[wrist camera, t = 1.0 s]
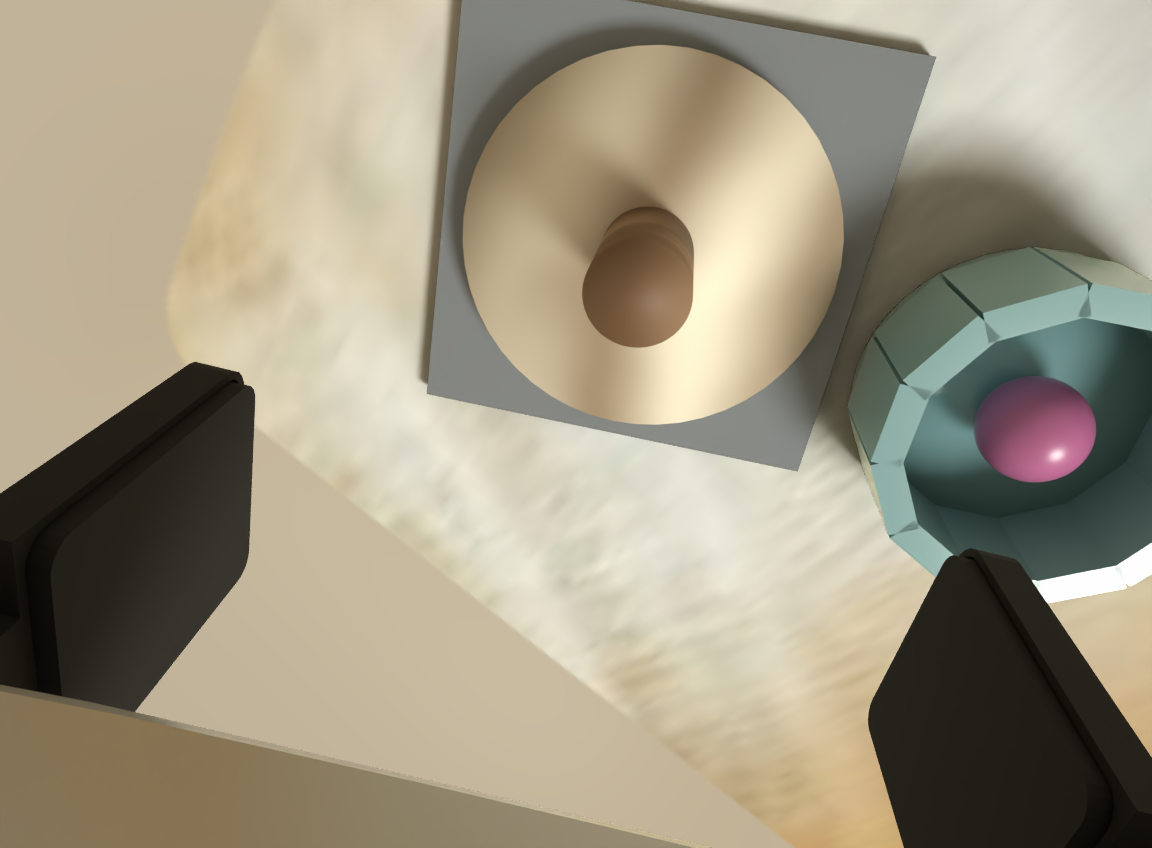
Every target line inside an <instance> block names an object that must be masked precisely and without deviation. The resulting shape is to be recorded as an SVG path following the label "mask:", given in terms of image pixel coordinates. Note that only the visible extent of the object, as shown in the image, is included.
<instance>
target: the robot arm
mask: <svg viewBox="0 0 1152 848" xmlns="http://www.w3.org/2000/svg"><path fill="white" fill-rule="evenodd" d="M254 415H255V393H254V389H253V388H252V387H251V386H247V385H244V381H243V378H242V375H241V374H240V373H239V372H235V371H231V370H227V369H223V368H219V367H215V366H210V365H206V364H202V363H198V362H193V363H191V364H189V365H187V366H186V367H184V368H183V369H181V370H180V371H178V372H177V373H175V374H174V375H173V376H171V377H170V378H168V379H167V380H165V381H164V382H163V383H161V384H160V385H158V386H157V387H155V388H154V389H152V390H151V391H149V392H148V393H146V394H145V395H143V396H142V397H140V398H139V399H138V400H136V401H135V402H133V403H132V404H130V405H129V406H127V407H126V408H125V409H123V410H122V411H120V412H119V413H117V414H116V415H114V416H113V417H111V418H110V419H108V420H107V421H105V422H104V423H103V424H101V425H100V426H98V427H97V428H95V429H94V430H92V431H91V432H89V433H88V434H86V435H85V436H84V437H82V438H81V439H79V440H78V441H76V442H75V443H74V444H72V445H70V446H69V447H67V448H66V449H65V450H63V451H62V452H60V453H59V454H57V455H56V456H54V457H53V458H51V459H50V460H49V461H47V462H46V463H44V464H43V465H41V466H40V467H38V468H37V469H35V470H34V471H32V472H31V473H30V474H28V475H27V476H25V477H24V478H23V479H21V480H19V481H18V482H17V483H15V484H13V485H12V486H11V487H9V488H8V489H6V490H5V491H3V492H2V493H0V848H712V847H708V846H704V845H700V844H695V843H691V842H687V841H683V840H679V839H674V838H670V837H666V836H662V835H658V834H653V833H650V832H645V831H641V830H637V829H633V828H629V827H624V826H620V825H616V824H611V823H607V822H603V821H599V820H595V819H591V818H587V817H583V816H578V815H574V814H570V813H566V812H561V811H557V810H553V809H549V808H545V807H540V806H536V805H531V804H528V803H523V802H519V801H514V800H511V799H506V798H502V797H498V796H494V795H490V794H485V793H481V792H477V791H473V790H469V789H464V788H460V787H456V786H452V785H447V784H443V783H439V782H434V781H431V780H426V779H422V778H418V777H413V776H409V775H405V774H400V773H396V772H392V771H387V770H383V769H379V768H374V767H370V766H366V765H361V764H357V763H353V762H349V761H344V760H340V759H335V758H331V757H327V756H323V755H318V754H314V753H310V752H305V751H301V750H296V749H292V748H288V747H284V746H279V745H275V744H271V743H266V742H262V741H258V740H254V739H249V738H245V737H241V736H236V735H232V734H228V733H223V732H219V731H215V730H210V729H206V728H202V727H197V726H193V725H188V724H184V723H180V722H176V721H171V720H167V719H162V718H158V717H154V716H149V715H145V714H140V713H136V712H135V711H136V710H137V708H138V707H139V706H140V704H141V703H142V702H143V701H144V699H145V698H146V697H147V696H148V694H149V693H150V692H151V690H152V689H153V688H154V686H155V685H156V684H157V683H158V681H159V680H160V679H161V678H162V676H163V675H164V674H165V673H166V671H167V670H168V669H169V668H170V666H171V665H172V664H173V662H174V661H175V660H176V659H177V657H178V656H179V655H180V654H181V652H182V651H183V650H184V649H185V647H186V646H187V645H188V643H189V642H190V641H191V640H192V638H193V637H194V636H195V634H196V633H197V632H198V631H199V629H200V628H201V627H202V625H203V624H204V623H205V622H206V621H207V619H208V618H209V617H210V615H211V614H212V613H213V612H214V610H215V609H216V608H217V607H218V605H219V604H220V603H221V601H222V600H223V599H224V598H225V596H226V595H227V594H228V593H229V591H230V590H231V589H232V588H233V586H234V585H235V584H236V582H237V581H238V580H239V578H240V577H241V575H242V573H243V571H244V569H245V566H246V563H247V559H248V554H249V537H250V512H251V488H252V487H251V486H252V463H253V439H254V438H253V437H254ZM868 726H869V731H870V734H871V738H872V741H873V744H874V748H875V751H876V755H877V758H878V761H879V765H880V768H881V771H882V775H883V778H884V782H885V785H886V788H887V792H888V795H889V799H890V802H891V805H892V809H893V812H894V815H895V819H896V822H897V826H898V829H899V832H900V836H901V839H902V842H903V846H904V848H1152V757H1151V756H1150V754H1149V753H1148V751H1147V750H1146V749H1145V747H1144V746H1143V744H1142V743H1141V741H1140V740H1139V738H1138V737H1137V735H1136V734H1135V732H1134V731H1133V729H1132V728H1131V726H1130V725H1129V723H1128V722H1127V720H1126V719H1125V718H1124V716H1123V715H1122V713H1121V712H1120V710H1119V709H1118V707H1117V706H1116V704H1115V703H1114V701H1113V700H1112V698H1111V697H1110V695H1109V694H1108V692H1107V691H1106V689H1105V688H1104V687H1103V685H1102V684H1101V682H1100V681H1099V679H1098V678H1097V676H1096V675H1095V673H1094V672H1093V670H1092V669H1091V667H1090V666H1089V664H1088V663H1087V661H1086V660H1085V658H1084V657H1083V656H1082V654H1081V653H1080V651H1079V650H1078V648H1077V647H1076V645H1075V644H1074V642H1073V641H1072V639H1071V638H1070V636H1069V635H1068V633H1067V632H1066V630H1065V629H1064V627H1063V626H1062V625H1061V623H1060V622H1059V620H1058V619H1057V617H1056V616H1055V614H1054V613H1053V611H1052V610H1051V608H1050V607H1049V605H1048V604H1047V602H1046V601H1045V599H1044V598H1043V596H1042V595H1041V594H1040V592H1039V591H1038V589H1037V588H1036V586H1035V585H1034V583H1033V582H1032V580H1031V579H1030V577H1029V576H1028V574H1027V573H1026V571H1025V570H1024V568H1023V567H1022V565H1021V564H1020V563H1019V562H1018V561H1017V560H1016V559H1014V558H1010V557H1006V556H1002V555H998V554H993V553H989V552H985V551H981V550H977V549H973V548H969V549H966V550H964V551H963V552H962V553H961V554H960V555H959V556H956V555H952V556H949V557H948V558H947V559H946V560H945V562H944V563H943V565H942V567H941V569H940V571H939V572H938V574H937V576H936V578H935V580H934V582H933V584H932V586H931V588H930V590H929V592H928V594H927V596H926V598H925V599H924V601H923V603H922V605H921V607H920V609H919V611H918V613H917V615H916V617H915V619H914V621H913V623H912V625H911V626H910V628H909V630H908V632H907V634H906V636H905V638H904V640H903V642H902V644H901V646H900V648H899V650H898V652H897V653H896V655H895V657H894V659H893V661H892V663H891V665H890V667H889V669H888V671H887V673H886V675H885V677H884V679H883V680H882V682H881V684H880V686H879V688H878V690H877V692H876V694H875V696H874V698H873V700H872V702H871V705H870V709H869V716H868Z"/></svg>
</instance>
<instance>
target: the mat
mask: <svg viewBox="0 0 1152 848" xmlns="http://www.w3.org/2000/svg"><path fill="white" fill-rule="evenodd" d="M644 45H669V46H678V47H688V48H693V49H696V50H700V51H704V52H708V53H712V54H716V55H718V56H720V57H723V58H725V59H727V60H730V61H732V62H734V63H737V64H739V65H741V66H743V67H744V68H746V69H748V70H749V71H751V72H753V73H754V74H756V75H758V76H759V77H761V78H762V79H764V80H766V81H767V82H768V83H769V84H770V85H772V86H773V87H774V88H775V89H776V90H778V91H779V92H780V93H781V94H782V95H784V96H785V97H786V98H787V99H788V100H789V101H790V102H791V104H792V105H793V106H794V107H795V108H796V109H797V110H798V111H799V112H800V114H801V115H802V116H803V117H804V118H805V120H806V121H807V123H808V124H809V126H810V127H811V128H812V130H813V131H814V133H815V134H816V136H817V137H818V139H819V141H820V143H821V145H822V147H823V149H824V151H825V153H826V155H827V157H828V159H829V161H830V164H831V166H832V170H833V173H834V176H835V179H836V182H837V186H838V189H839V194H840V200H841V206H842V212H843V233H844V243H843V252H842V261H841V268H840V272H839V276H838V280H837V284H836V289H835V292H834V295H833V297H832V300H831V302H830V305H829V307H828V310H827V312H826V315H825V317H824V318H823V320H822V322H821V324H820V326H819V327H818V329H817V331H816V333H815V335H814V336H813V338H812V339H811V340H810V342H809V343H808V345H807V346H806V347H805V349H804V350H803V351H802V353H801V354H800V355H799V356H798V358H797V359H796V360H795V361H794V362H793V363H792V364H791V365H790V366H789V367H788V368H787V369H786V370H785V371H784V372H783V373H782V374H781V375H780V376H779V377H777V378H776V379H775V380H774V381H773V382H771V383H770V384H769V385H768V386H767V387H765V388H764V389H762V390H761V391H759V392H758V393H756V394H754V395H753V396H751V397H750V398H748V399H747V400H745V401H743V402H741V403H739V404H737V405H735V406H733V407H730V408H728V409H726V410H724V411H721V412H718V413H715V414H712V415H710V416H707V417H704V418H700V419H695V420H690V421H685V422H681V423H671V424H659V425H651V424H631V423H624V422H618V421H612V420H608V419H604V418H601V417H597V416H593V415H590V414H588V413H585V412H583V411H580V410H578V409H575V408H573V407H570V406H568V405H566V404H565V403H563V402H561V401H559V400H557V399H556V398H554V397H552V396H550V395H549V394H547V393H546V392H545V391H543V390H542V389H540V388H539V387H538V386H536V385H535V384H533V383H532V382H531V381H530V380H529V379H528V378H527V377H525V376H524V375H523V374H522V373H521V372H520V371H519V370H518V369H517V368H516V367H515V366H514V365H513V364H512V363H511V362H510V360H509V359H508V358H507V357H506V356H505V355H504V353H503V352H502V351H501V350H500V348H499V347H498V345H497V344H496V342H495V341H494V339H493V338H492V336H491V335H490V333H489V332H488V330H487V328H486V326H485V324H484V322H483V320H482V318H481V316H480V314H479V312H478V310H477V307H476V304H475V302H474V299H473V296H472V293H471V290H470V287H469V283H468V278H467V274H466V269H465V263H464V252H463V217H464V211H465V205H466V199H467V193H468V190H469V187H470V183H471V180H472V177H473V173H474V170H475V168H476V165H477V163H478V161H479V159H480V157H481V154H482V152H483V150H484V148H485V146H486V144H487V143H488V141H489V139H490V138H491V136H492V135H493V133H494V132H495V130H496V128H497V127H498V125H499V124H500V123H501V121H502V120H503V119H504V118H505V117H506V115H507V114H508V113H509V112H510V111H511V109H512V108H513V107H514V106H515V105H516V104H517V103H518V102H519V101H520V100H521V99H522V98H523V97H524V96H525V95H527V94H528V93H529V92H530V91H531V90H532V89H533V88H534V87H535V86H537V85H538V84H540V83H541V82H543V81H544V80H546V79H547V78H548V77H550V76H551V75H553V74H554V73H556V72H557V71H559V70H561V69H563V68H565V67H567V66H569V65H571V64H573V63H575V62H577V61H579V60H581V59H584V58H587V57H590V56H593V55H596V54H599V53H602V52H605V51H609V50H615V49H620V48H626V47H632V46H644ZM935 59H936V57H935V56H929V55H924V54H918V53H913V52H907V51H902V50H896V49H891V48H885V47H880V46H875V45H869V44H864V43H858V42H853V41H847V40H842V39H836V38H831V37H825V36H820V35H814V34H809V33H804V32H798V31H793V30H787V29H782V28H776V27H771V26H765V25H760V24H754V23H749V22H743V21H738V20H733V19H727V18H722V17H716V16H711V15H705V14H700V13H694V12H689V11H683V10H678V9H672V8H667V7H662V6H656V5H651V4H645V3H640V2H634V1H629V0H462V3H461V14H460V26H459V37H458V48H457V60H456V71H455V82H454V93H453V105H452V116H451V127H450V139H449V150H448V161H447V172H446V184H445V195H444V206H443V217H442V229H441V240H440V251H439V263H438V274H437V285H436V296H435V308H434V319H433V330H432V341H431V353H430V364H429V375H428V387H427V394H430V395H435V396H439V397H444V398H449V399H454V400H458V401H463V402H468V403H473V404H478V405H482V406H487V407H492V408H497V409H501V410H506V411H511V412H516V413H521V414H525V415H530V416H535V417H540V418H545V419H549V420H554V421H559V422H564V423H568V424H573V425H578V426H583V427H588V428H592V429H597V430H602V431H607V432H612V433H616V434H621V435H626V436H631V437H635V438H640V439H645V440H650V441H655V442H659V443H664V444H669V445H674V446H678V447H683V448H688V449H693V450H698V451H702V452H707V453H712V454H717V455H722V456H726V457H731V458H736V459H741V460H745V461H750V462H755V463H760V464H765V465H769V466H774V467H779V468H784V469H788V470H793V471H798V469H799V466H800V463H801V460H802V457H803V454H804V451H805V448H806V445H807V442H808V439H809V436H810V433H811V430H812V427H813V424H814V421H815V418H816V415H817V412H818V409H819V406H820V403H821V400H822V397H823V394H824V391H825V388H826V385H827V382H828V379H829V376H830V373H831V370H832V367H833V364H834V361H835V358H836V355H837V352H838V349H839V346H840V343H841V340H842V337H843V334H844V331H845V328H846V325H847V322H848V319H849V317H850V314H851V311H852V308H853V305H854V302H855V299H856V296H857V293H858V290H859V287H860V284H861V281H862V278H863V275H864V272H865V269H866V266H867V263H868V260H869V257H870V254H871V251H872V248H873V245H874V242H875V239H876V236H877V233H878V230H879V227H880V224H881V221H882V218H883V215H884V212H885V209H886V206H887V203H888V200H889V197H890V194H891V191H892V188H893V185H894V182H895V179H896V176H897V173H898V170H899V167H900V164H901V161H902V158H903V155H904V152H905V149H906V146H907V143H908V140H909V137H910V134H911V131H912V128H913V125H914V122H915V119H916V116H917V113H918V110H919V107H920V104H921V101H922V98H923V95H924V92H925V89H926V86H927V83H928V80H929V77H930V74H931V71H932V68H933V65H934V62H935Z"/></svg>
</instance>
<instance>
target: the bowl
mask: <svg viewBox="0 0 1152 848" xmlns="http://www.w3.org/2000/svg"><path fill="white" fill-rule="evenodd" d="M1026 376H1042V377H1050V378H1053V379H1057V380H1059V381H1062V382H1064V383H1066V384H1068V385H1070V386H1071V387H1073V388H1074V389H1076V390H1077V391H1078V392H1079V393H1080V394H1081V395H1082V396H1083V397H1084V398H1085V399H1086V401H1087V402H1088V404H1089V405H1090V407H1091V409H1092V411H1093V414H1094V417H1095V422H1096V437H1095V441H1094V445H1093V447H1092V450H1091V452H1090V453H1089V455H1088V456H1087V458H1086V459H1085V460H1084V462H1083V463H1082V464H1081V465H1080V466H1079V467H1077V468H1076V469H1075V470H1074V471H1072V472H1071V473H1069V474H1067V475H1065V476H1063V477H1061V478H1058V479H1055V480H1051V481H1045V482H1025V481H1019V480H1016V479H1013V478H1010V477H1008V476H1005V475H1003V474H1002V473H1000V472H998V471H997V470H995V469H994V468H993V467H992V466H990V464H989V463H988V462H987V461H986V460H985V459H984V458H983V456H982V455H981V453H980V451H979V449H978V447H977V445H976V441H975V437H974V421H975V416H976V414H977V411H978V409H979V407H980V405H981V403H982V402H983V400H984V399H985V398H986V397H987V396H988V394H989V393H991V392H992V391H993V390H994V389H995V388H997V387H998V386H1000V385H1002V384H1003V383H1005V382H1008V381H1010V380H1013V379H1016V378H1021V377H1026ZM847 410H848V414H849V417H850V421H851V425H852V431H853V436H854V439H855V441H856V444H857V448H858V452H859V456H860V460H861V464H862V468H863V471H864V474H865V477H866V479H867V482H868V484H869V487H870V490H871V492H872V495H873V497H874V500H875V503H876V505H877V508H878V510H879V513H880V516H881V518H882V521H883V523H884V526H885V528H886V531H887V534H888V535H889V537H890V539H891V540H893V541H894V542H895V543H896V544H897V545H898V546H900V547H901V548H902V549H903V550H904V551H905V552H907V553H908V554H909V555H910V556H911V557H913V558H914V559H915V560H916V561H917V562H918V563H920V564H921V565H922V566H923V567H924V568H925V569H927V570H928V571H929V572H930V573H931V574H932V575H934V576H935V577H936V576H937V574H938V572H939V571H940V569H941V567H942V565H943V563H944V562H945V560H946V559H947V558H948V557H949V556H952V555H956V556H959V555H960V554H961V553H962V552H963V551H964V550H966V549H969V548H973V549H977V550H981V551H985V552H989V553H993V554H998V555H1002V556H1006V557H1010V558H1014V559H1016V560H1017V561H1018V562H1019V563H1020V564H1021V565H1022V567H1023V568H1024V570H1025V571H1026V573H1027V574H1028V576H1029V577H1030V579H1031V580H1032V582H1033V583H1034V585H1035V586H1036V588H1037V589H1038V591H1039V592H1040V594H1041V595H1042V596H1043V598H1044V599H1045V601H1046V602H1047V603H1051V602H1057V601H1062V600H1067V599H1073V598H1078V597H1083V596H1089V595H1094V594H1099V593H1104V592H1110V591H1115V590H1120V589H1126V584H1125V582H1126V583H1127V584H1128V585H1129V586H1130V587H1131V586H1132V585H1134V584H1136V583H1137V582H1139V581H1140V580H1142V579H1143V578H1145V577H1147V576H1148V575H1150V574H1151V573H1152V281H1151V280H1149V279H1148V278H1146V277H1144V276H1142V275H1140V274H1138V273H1136V272H1134V271H1133V270H1131V269H1129V268H1127V267H1125V266H1123V265H1121V264H1119V263H1116V262H1111V261H1106V260H1101V259H1096V258H1093V257H1090V256H1086V255H1082V254H1079V253H1075V252H1071V251H1065V250H1057V249H1049V248H1039V247H1033V248H1030V247H1027V248H1023V249H1016V250H1007V251H1001V252H997V253H992V254H988V255H984V256H980V257H977V258H974V259H972V260H969V261H966V262H963V263H961V264H958V265H956V266H954V267H952V268H950V269H948V270H946V271H944V272H942V273H940V274H938V275H936V276H935V277H933V278H931V279H930V280H928V281H927V282H925V283H924V284H922V285H920V286H919V287H918V288H916V289H915V290H914V291H913V292H911V293H910V294H909V295H908V296H907V297H905V298H904V299H903V300H902V301H901V302H900V303H899V304H898V305H897V306H896V307H895V308H894V309H893V310H892V311H891V312H890V313H889V314H888V315H887V316H886V317H885V319H884V320H883V321H882V323H881V324H880V325H879V326H878V328H877V329H876V330H875V332H874V333H873V335H872V337H871V338H870V340H869V342H868V343H867V345H866V347H865V348H864V351H863V353H862V355H861V358H860V360H859V362H858V365H857V368H856V371H855V375H854V379H853V382H852V388H851V396H850V399H849V402H848V409H847Z"/></svg>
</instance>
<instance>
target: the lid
mask: <svg viewBox="0 0 1152 848" xmlns="http://www.w3.org/2000/svg"><path fill="white" fill-rule="evenodd" d="M843 243H844V233H843V212H842V206H841V200H840V194H839V189H838V186H837V182H836V179H835V176H834V173H833V170H832V166H831V164H830V161H829V159H828V157H827V155H826V153H825V151H824V149H823V147H822V145H821V143H820V141H819V139H818V137H817V136H816V134H815V133H814V131H813V130H812V128H811V127H810V126H809V124H808V123H807V121H806V120H805V118H804V117H803V116H802V115H801V114H800V112H799V111H798V110H797V109H796V108H795V107H794V106H793V105H792V104H791V102H790V101H789V100H788V99H787V98H786V97H785V96H784V95H782V94H781V93H780V92H779V91H778V90H776V89H775V88H774V87H773V86H772V85H770V84H769V83H768V82H767V81H766V80H764V79H762V78H761V77H759V76H758V75H756V74H754V73H753V72H751V71H749V70H748V69H746V68H744V67H743V66H741V65H739V64H737V63H734V62H732V61H730V60H727V59H725V58H723V57H720V56H718V55H716V54H712V53H708V52H704V51H700V50H696V49H693V48H688V47H678V46H669V45H644V46H632V47H626V48H620V49H615V50H609V51H605V52H602V53H599V54H596V55H593V56H590V57H587V58H584V59H581V60H579V61H577V62H575V63H573V64H571V65H569V66H567V67H565V68H563V69H561V70H559V71H557V72H556V73H554V74H553V75H551V76H550V77H548V78H547V79H546V80H544V81H543V82H541V83H540V84H538V85H537V86H535V87H534V88H533V89H532V90H531V91H530V92H529V93H528V94H527V95H525V96H524V97H523V98H522V99H521V100H520V101H519V102H518V103H517V104H516V105H515V106H514V107H513V108H512V109H511V111H510V112H509V113H508V114H507V115H506V117H505V118H504V119H503V120H502V121H501V123H500V124H499V125H498V127H497V128H496V130H495V132H494V133H493V135H492V136H491V138H490V139H489V141H488V143H487V144H486V146H485V148H484V150H483V152H482V154H481V157H480V159H479V161H478V163H477V165H476V168H475V170H474V173H473V177H472V180H471V183H470V187H469V190H468V193H467V199H466V205H465V211H464V217H463V252H464V263H465V269H466V274H467V278H468V283H469V287H470V290H471V293H472V296H473V299H474V302H475V304H476V307H477V310H478V312H479V314H480V316H481V318H482V320H483V322H484V324H485V326H486V328H487V330H488V332H489V333H490V335H491V336H492V338H493V339H494V341H495V342H496V344H497V345H498V347H499V348H500V350H501V351H502V352H503V353H504V355H505V356H506V357H507V358H508V359H509V360H510V362H511V363H512V364H513V365H514V366H515V367H516V368H517V369H518V370H519V371H520V372H521V373H522V374H523V375H524V376H525V377H527V378H528V379H529V380H530V381H531V382H532V383H533V384H535V385H536V386H538V387H539V388H540V389H542V390H543V391H545V392H546V393H547V394H549V395H550V396H552V397H554V398H556V399H557V400H559V401H561V402H563V403H565V404H566V405H568V406H570V407H573V408H575V409H578V410H580V411H583V412H585V413H588V414H590V415H593V416H597V417H601V418H604V419H608V420H612V421H618V422H624V423H631V424H651V425H659V424H671V423H681V422H685V421H690V420H695V419H700V418H704V417H707V416H710V415H712V414H715V413H718V412H721V411H724V410H726V409H728V408H730V407H733V406H735V405H737V404H739V403H741V402H743V401H745V400H747V399H748V398H750V397H751V396H753V395H754V394H756V393H758V392H759V391H761V390H762V389H764V388H765V387H767V386H768V385H769V384H770V383H771V382H773V381H774V380H775V379H776V378H777V377H779V376H780V375H781V374H782V373H783V372H784V371H785V370H786V369H787V368H788V367H789V366H790V365H791V364H792V363H793V362H794V361H795V360H796V359H797V358H798V356H799V355H800V354H801V353H802V351H803V350H804V349H805V347H806V346H807V345H808V343H809V342H810V340H811V339H812V338H813V336H814V335H815V333H816V331H817V329H818V327H819V326H820V324H821V322H822V320H823V318H824V317H825V315H826V312H827V310H828V307H829V305H830V302H831V300H832V297H833V295H834V292H835V289H836V284H837V280H838V276H839V272H840V268H841V261H842V252H843Z"/></svg>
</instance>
